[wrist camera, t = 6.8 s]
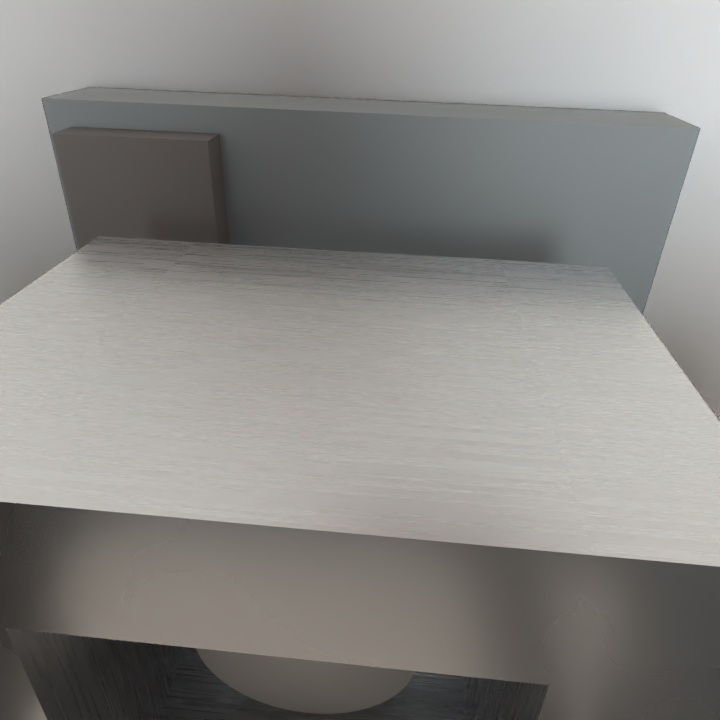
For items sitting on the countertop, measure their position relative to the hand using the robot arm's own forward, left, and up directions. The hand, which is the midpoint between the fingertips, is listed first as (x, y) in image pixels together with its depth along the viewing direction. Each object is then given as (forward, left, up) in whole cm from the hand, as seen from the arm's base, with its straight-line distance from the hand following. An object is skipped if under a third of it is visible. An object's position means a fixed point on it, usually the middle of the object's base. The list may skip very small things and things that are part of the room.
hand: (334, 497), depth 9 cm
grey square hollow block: (0, 0, -1) cm, 1 cm away
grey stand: (0, 0, -4) cm, 4 cm away
